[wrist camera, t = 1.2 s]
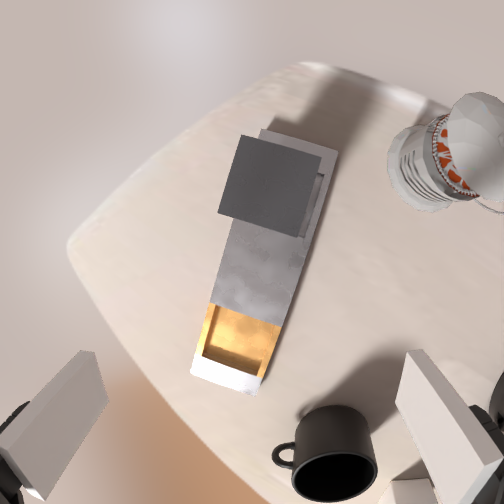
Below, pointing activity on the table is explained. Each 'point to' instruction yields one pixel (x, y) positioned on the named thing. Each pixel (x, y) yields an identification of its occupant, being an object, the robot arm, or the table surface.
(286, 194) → the graphite post
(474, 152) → the french press
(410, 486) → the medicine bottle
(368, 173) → the table surface
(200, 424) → the table surface
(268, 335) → the rail
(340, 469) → the mug
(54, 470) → the robot arm
